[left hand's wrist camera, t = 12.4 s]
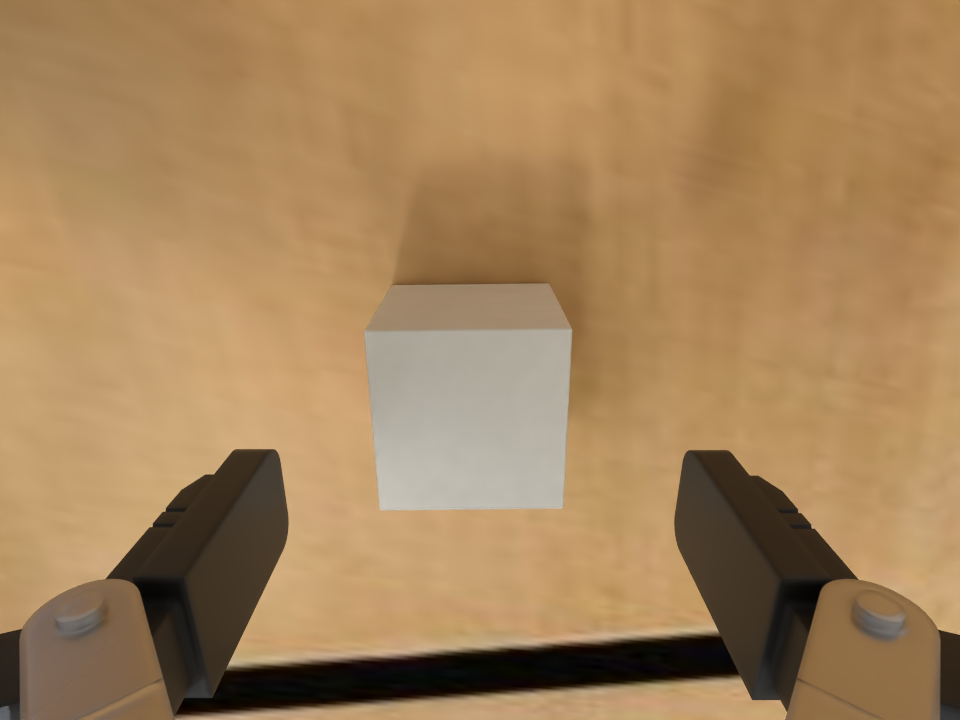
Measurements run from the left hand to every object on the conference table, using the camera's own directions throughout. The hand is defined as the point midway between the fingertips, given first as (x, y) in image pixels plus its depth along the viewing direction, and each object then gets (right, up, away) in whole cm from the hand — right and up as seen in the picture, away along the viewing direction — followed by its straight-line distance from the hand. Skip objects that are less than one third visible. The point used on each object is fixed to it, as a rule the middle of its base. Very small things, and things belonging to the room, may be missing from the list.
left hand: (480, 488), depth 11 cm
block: (0, +3, +6) cm, 7 cm away
